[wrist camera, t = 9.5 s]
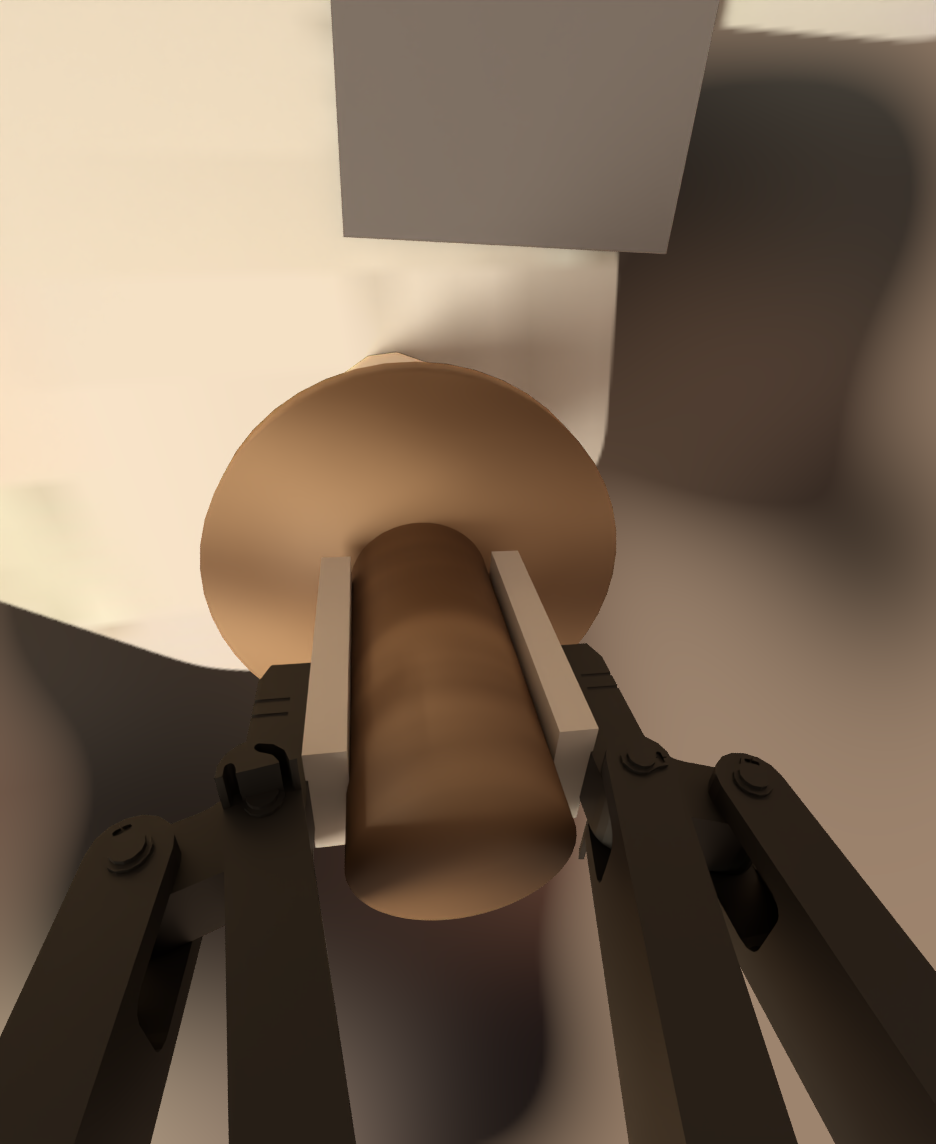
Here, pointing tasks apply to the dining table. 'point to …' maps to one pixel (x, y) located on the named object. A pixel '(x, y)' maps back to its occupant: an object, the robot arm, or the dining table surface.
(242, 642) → the lid
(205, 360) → the dining table surface
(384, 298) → the dining table surface
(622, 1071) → the robot arm
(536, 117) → the mat
